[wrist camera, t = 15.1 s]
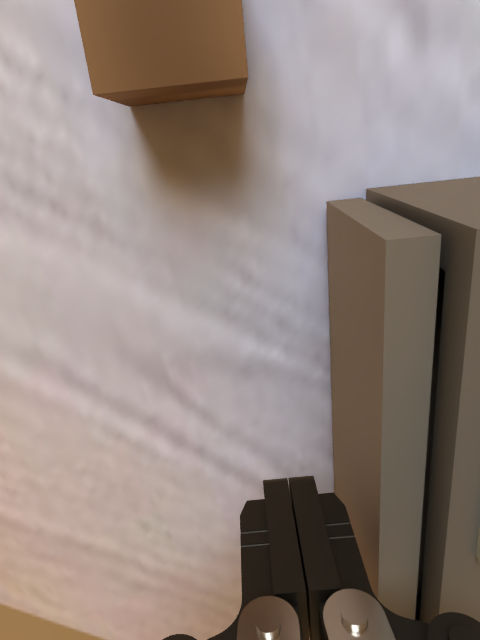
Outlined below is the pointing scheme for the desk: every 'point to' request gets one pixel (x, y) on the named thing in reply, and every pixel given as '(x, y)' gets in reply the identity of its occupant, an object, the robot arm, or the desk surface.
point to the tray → (384, 386)
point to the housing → (451, 395)
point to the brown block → (163, 49)
